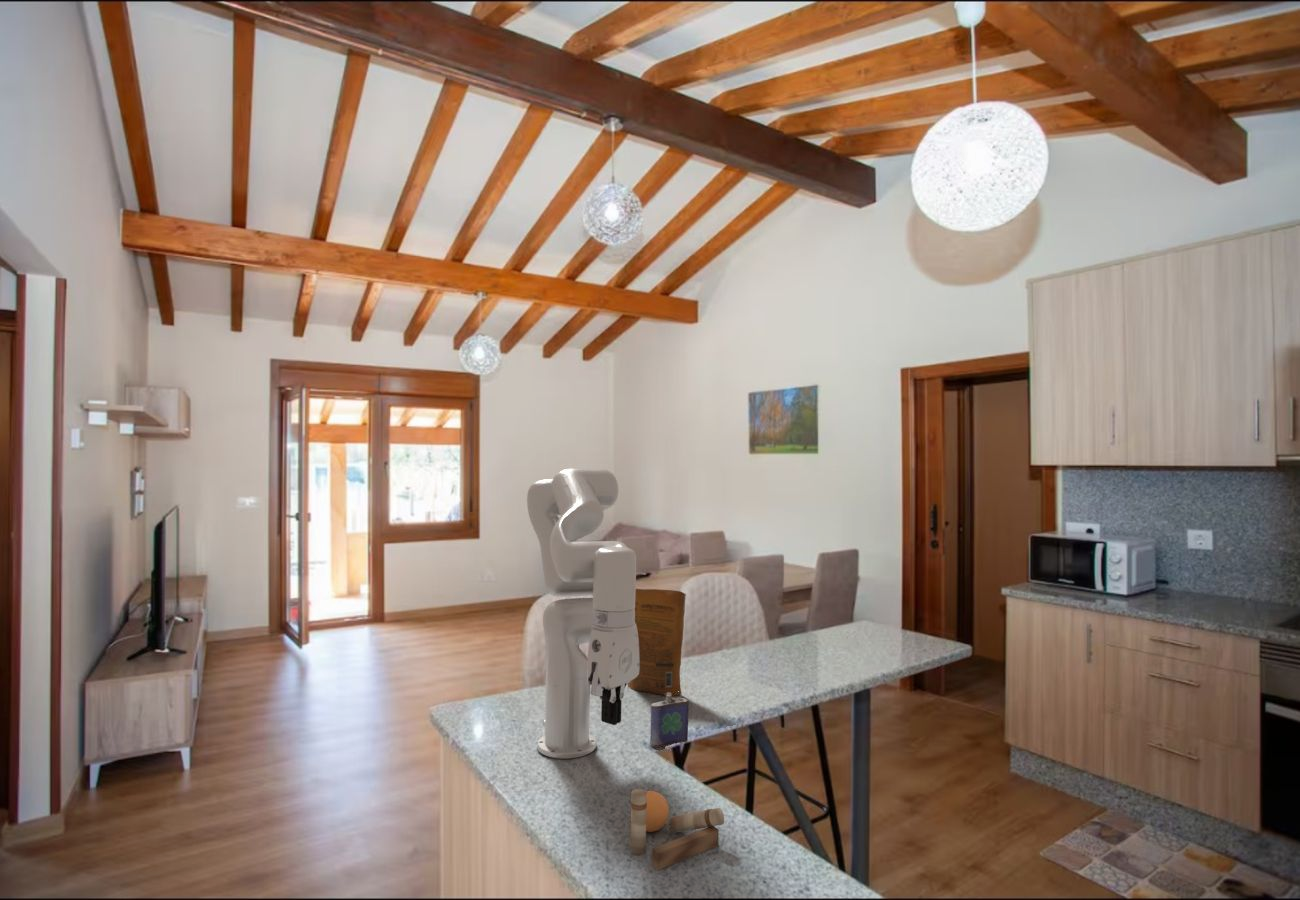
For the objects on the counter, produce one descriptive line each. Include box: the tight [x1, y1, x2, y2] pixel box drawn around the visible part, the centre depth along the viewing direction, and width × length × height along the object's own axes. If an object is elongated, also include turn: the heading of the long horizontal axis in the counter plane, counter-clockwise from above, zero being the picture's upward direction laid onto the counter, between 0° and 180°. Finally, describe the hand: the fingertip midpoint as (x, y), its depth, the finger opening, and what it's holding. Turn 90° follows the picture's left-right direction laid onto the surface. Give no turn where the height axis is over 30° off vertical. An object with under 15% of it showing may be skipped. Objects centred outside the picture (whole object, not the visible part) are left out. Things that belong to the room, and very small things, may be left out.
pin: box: [669, 807, 725, 833], centre depth 109 cm, size 2×2×9 cm
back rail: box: [651, 826, 720, 871], centre depth 104 cm, size 12×2×2 cm, turn 125°
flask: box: [649, 692, 690, 748], centre depth 147 cm, size 9×3×11 cm, turn 117°
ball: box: [645, 790, 670, 833], centre depth 111 cm, size 6×6×6 cm
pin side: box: [629, 788, 647, 856], centre depth 105 cm, size 2×2×9 cm
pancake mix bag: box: [626, 588, 687, 697], centre depth 182 cm, size 7×19×28 cm, turn 63°
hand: (611, 721), depth 118 cm, fingers closed
